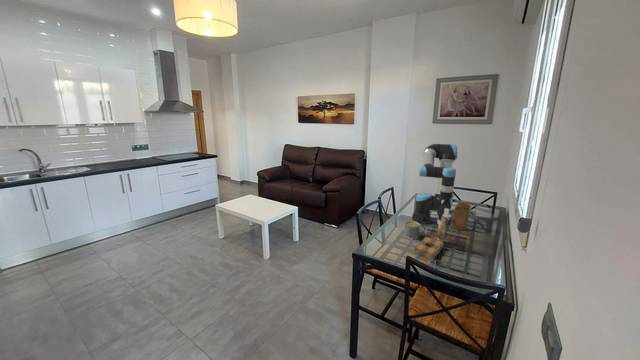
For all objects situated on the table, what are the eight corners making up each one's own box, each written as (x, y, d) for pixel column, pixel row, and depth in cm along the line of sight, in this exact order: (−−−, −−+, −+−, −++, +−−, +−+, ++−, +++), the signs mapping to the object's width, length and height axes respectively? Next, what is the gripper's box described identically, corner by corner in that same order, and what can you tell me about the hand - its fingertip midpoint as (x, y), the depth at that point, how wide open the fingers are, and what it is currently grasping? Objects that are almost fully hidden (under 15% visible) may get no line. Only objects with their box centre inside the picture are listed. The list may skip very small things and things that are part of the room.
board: (414, 252, 168) (415, 247, 166) (425, 241, 180) (425, 236, 179) (433, 259, 160) (434, 254, 159) (442, 247, 172) (443, 242, 171)
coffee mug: (402, 237, 187) (403, 224, 184) (406, 231, 195) (407, 219, 192) (421, 242, 180) (422, 229, 177) (424, 236, 187) (425, 223, 184)
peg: (435, 242, 179) (438, 219, 174) (437, 239, 182) (440, 217, 177) (441, 244, 176) (445, 220, 171) (443, 241, 179) (447, 218, 174)
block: (467, 227, 198) (471, 204, 192) (465, 231, 193) (469, 207, 187) (452, 224, 205) (455, 200, 199) (449, 227, 199) (453, 204, 193)
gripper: (446, 197, 157) (442, 228, 163) (458, 187, 174) (454, 216, 180) (434, 194, 161) (430, 225, 168) (446, 185, 179) (442, 213, 185)
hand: (442, 220), depth 174 cm, fingers open, 13 cm apart
